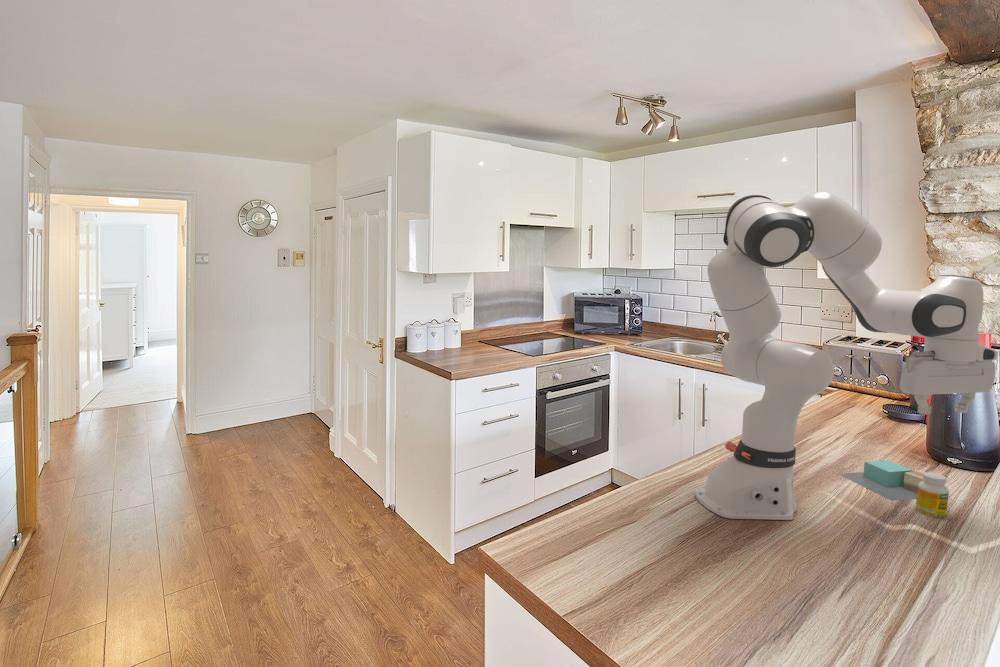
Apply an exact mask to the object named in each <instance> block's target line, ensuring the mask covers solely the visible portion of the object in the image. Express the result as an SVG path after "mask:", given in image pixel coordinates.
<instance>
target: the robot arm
mask: <svg viewBox="0 0 1000 667" xmlns="http://www.w3.org/2000/svg"><path fill="white" fill-rule="evenodd" d="M725 218H726V219H725V228H724V234H723V243H724V244H725V246H726V248H725V249H723V250H721V251H720V252H718V253H717V254H715V255H714V256H713V257H712V258H711V259H710V261H709V262H708V265H707V276H708V280H709V284H710V285H709V286H710V289H711V292H712V294H713V297H714V300H715V302H716V305H717V306H718V309H719V311H720V313H721V316H722V318H723V320H724V322H725V325H726V327H727V329H728V333H729V340H728V341H726V343H725V344H724V346H723V348H722V351H721V353H720V354H721V355H720V362H721V366H722V368H723V370H724V371H725V372H726V373H727V374H729V375H730V376H733V377H735V378H737V379H739V380H741V381H743V382H747V383H752V384H756V385H760V386H764V393H763V395H762V398H761V399H760V400H758V401H755V402H752V403H751V404H749V405H747V407H746V408H745V409H744V410H743V415H742V429H741V438H740V440H739V441H738V444H737V445H736V444H735V443H734V442H732V441H727V442H726V443H725V444H724V448H725V449H726V450H727V451H729V452H731V453H733V455H732V456H731V457H730V458H728V459H727V460H725V461H723V463H721V464H720V465H718V466H717V467H716V468H714V469H712V470H711V471H710V472H709V473H708V476H707V478H706V481H705V482H706V483H705V486H704V487H699V488H696V489H695V491H694V496H695V499H696V500H697V501H698V502H699V503H700V504H701V505H702V506H703V507H704V508H706V509H708V510H709V511H711V512H712V513H714V514H715V515H718V516H720V517H722V518H725V519H731V520H732V519H733V520H734V519H736V520H737V519H738V520H739V519H741V520H771V521H772V520H775V521H776V520H777V521H778V520H781V521H791V520H793V519H794V513H795V512H797V510H798V504H797V501H796V496H795V488H794V465H795V464H796V456H797V455H796V454H797V452H796V451H797V450H796V447H795V442H796V441H795V439H796V432H797V425H798V421H799V420H798V419H799V415H800V414H801V411H802V410H803V408H804V406H806V403H807V402H809V400H810V399H812V397H814V396H816V395H818V394H820V393H822V392H824V391H825V390H826V389H827V388H828V387H829V386H830V385H831V383H832V381H833V379H834V376H835V365H834V362H833V360H832V357H831V356H830V354H829V353H827V351H824V350H821V349H819V348H816V347H813V346H811V345H808V344H806V343H799V342H792V341H786V340H781V339H780V340H779V339H776V338H775V337H774V336H773V335H772V334H771V333H773V332H774V331H775V330H776V329H777V327H778V326H779V324H780V322H781V319H782V313H781V309H780V306H779V305H778V302H777V300H776V297H775V294H774V292H773V290H772V287H771V286H770V283H769V280H768V279H767V277H766V273H765V267H767V268H779V267H782V266H785V265H787V264H789V263H791V262H792V261H795V259H797V258H798V257H799V256H800V255H801V254H803V253H804V252H808V253H809V254H810V255H811V256H812V257H814V259H816V260H817V261H818V262H819V263H820V264H821V268H822V270H823V272H824V275H825V276H827V278H828V280H829V281H830V282H831V283H832V284H833V285H834V286H835V288H836V289H837V290H838V291H839V292H840V293H841V294H842V296H843V297H844V299H846V301H847V302H848V303H849V304H850V305H851V307H852V309H853V311H854V313H855V315H856V318H857V320H858V322H859V324H861V326H862V327H863V328H864V329H866V330H867V331H869V332H872V333H883V334H884V333H886V334H888V333H889V334H895V335H903V336H912V337H917V338H918V337H919V338H924V346H923V351H913V352H911V354H909V355H908V356H907V358H906V360H905V362H904V365H903V368H902V372H901V376H900V379H899V380H900V381H899V389H900V391H901V392H902V393H905V394H909V395H913V397H914V400H915V402H916V404H917V405H918V406H917V412H918V413H919V414H921V415H931V413H932V409H933V408H932V407H933V406H930V405H929V404H928V401H927V400H929V399H930V395H948V394H950V395H952V394H959V396H961V397H960V398H959V400H958V402H955V403H954V409H953V410H954V412H957V413H961V414H962V413H968V411H969V407H970V405H971V403H972V402H973V401H974V400H975V398H976V394H978V393H989V392H990V391H991V390H992V388H994V384H995V378H996V363H995V361H996V360H997V359H998V356H999V353H998V350H996V349H993V348H990V347H987V346H985V345H982V344H979V343H980V335H979V326H980V324H981V321H982V319H983V312H984V311H983V310H984V289H983V283H982V282H981V281H980V280H979V279H977V278H974V277H971V276H965V275H957V274H943V275H938V276H936V277H935V280H934V281H933V282H932V283H931V284H928V286H926V287H923V288H920V289H918V290H901V289H900V290H899V289H892V288H885V287H882V286H878V285H877V284H876V283H875V282H874V281H873V280H872V278H871V277H870V276H869V275H868V273H867V272H866V270H867V269H869V268H870V267H871V266H873V264H874V263H875V261H876V260H877V259H878V257H879V256H880V253H881V250H882V245H883V244H882V243H883V241H882V237H881V235H880V233H879V231H878V230H877V228H875V226H873V224H872V223H870V221H869V220H867V218H866V217H864V216H863V214H861V213H860V211H857V209H855V208H854V207H853V206H852V205H850V204H849V203H847V202H846V201H845V200H843V199H842V198H840V197H838V196H837V195H835V194H834V193H832V192H829V191H824V190H823V191H822V190H819V191H814V192H811V193H809V194H807V195H804V197H802V198H800V199H799V200H798V201H797V202H796V203H794V204H793V205H791V206H786V207H785V206H783V205H782V204H780V203H778V202H777V201H774V200H773V199H771V198H770V197H767V196H765V195H762V194H761V195H759V194H751V195H746V196H743V197H741V198H738V199H737V200H736V201H735V202H733V203H732V205H731V206H730V208H729V210H728V212H727V215H726V217H725Z"/></svg>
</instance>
